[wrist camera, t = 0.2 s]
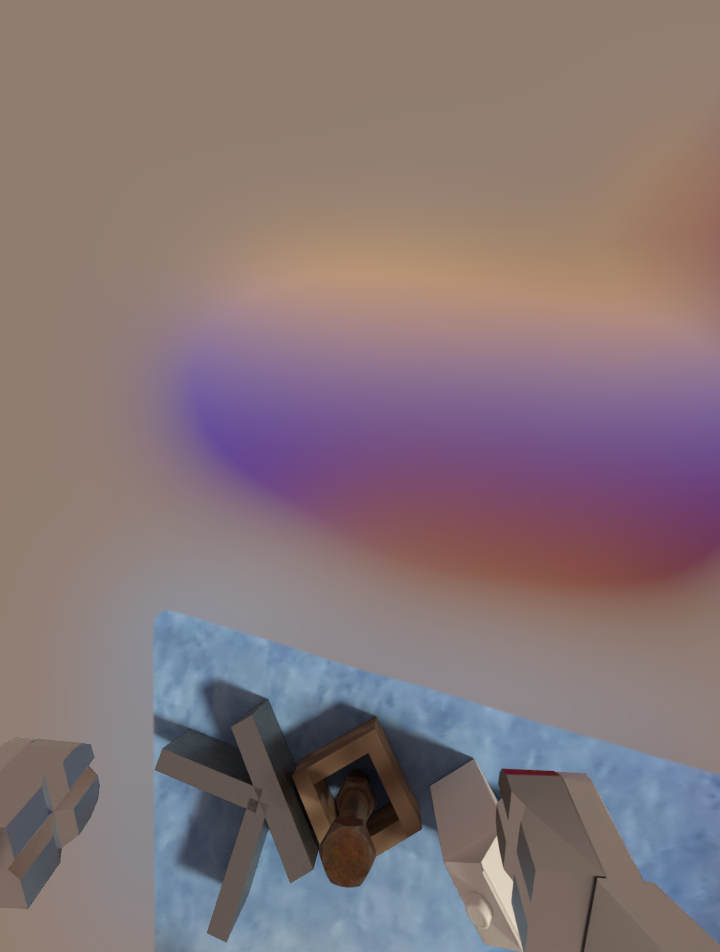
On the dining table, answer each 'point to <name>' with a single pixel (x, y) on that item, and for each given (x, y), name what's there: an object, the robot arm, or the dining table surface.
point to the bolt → (350, 834)
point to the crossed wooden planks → (248, 801)
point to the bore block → (370, 738)
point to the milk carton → (475, 853)
